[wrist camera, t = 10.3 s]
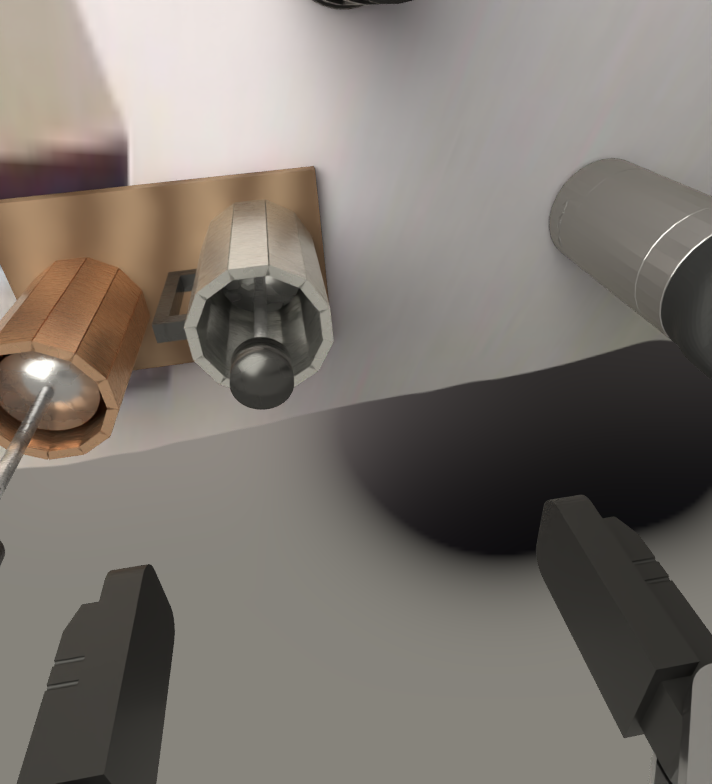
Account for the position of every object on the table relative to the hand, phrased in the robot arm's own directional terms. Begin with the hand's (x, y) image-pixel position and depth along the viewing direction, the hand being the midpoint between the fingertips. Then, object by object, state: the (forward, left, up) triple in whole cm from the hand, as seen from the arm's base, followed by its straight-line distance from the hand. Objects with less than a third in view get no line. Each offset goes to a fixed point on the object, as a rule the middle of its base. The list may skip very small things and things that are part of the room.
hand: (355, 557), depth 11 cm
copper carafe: (+19, +11, -39) cm, 45 cm away
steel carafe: (+4, +8, -39) cm, 40 cm away
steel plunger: (+3, +8, -35) cm, 36 cm away
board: (+10, +10, -40) cm, 43 cm away
